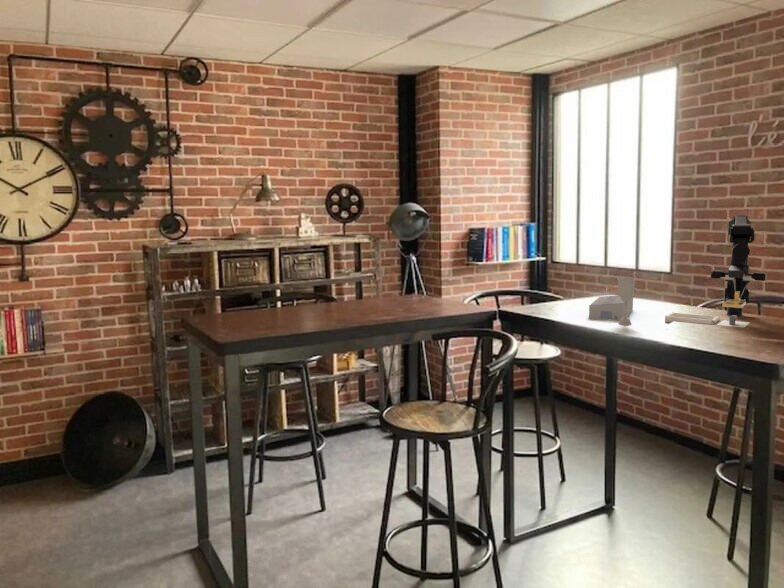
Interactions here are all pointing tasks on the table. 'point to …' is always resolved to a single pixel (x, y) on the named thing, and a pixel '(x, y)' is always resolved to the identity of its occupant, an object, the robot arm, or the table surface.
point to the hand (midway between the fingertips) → (737, 297)
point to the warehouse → (609, 308)
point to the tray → (691, 318)
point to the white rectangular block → (733, 322)
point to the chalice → (626, 296)
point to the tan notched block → (734, 302)
